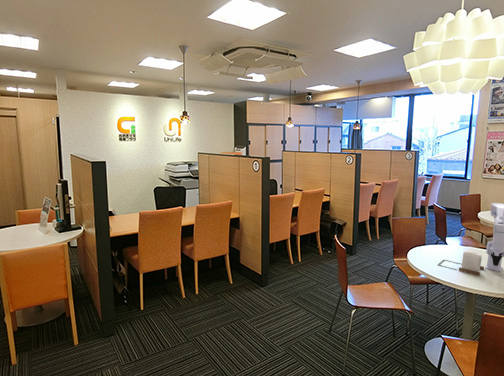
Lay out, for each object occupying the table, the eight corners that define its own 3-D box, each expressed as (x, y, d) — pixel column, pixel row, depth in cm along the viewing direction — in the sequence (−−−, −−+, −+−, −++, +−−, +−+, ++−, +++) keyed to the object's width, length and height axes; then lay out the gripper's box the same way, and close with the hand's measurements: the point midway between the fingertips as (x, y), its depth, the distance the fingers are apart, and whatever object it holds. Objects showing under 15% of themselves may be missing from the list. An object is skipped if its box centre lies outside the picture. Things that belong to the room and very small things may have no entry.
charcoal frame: (443, 259, 220) (443, 259, 220) (462, 264, 211) (462, 264, 211) (437, 265, 210) (437, 264, 210) (456, 270, 201) (456, 269, 201)
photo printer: (481, 272, 199) (483, 253, 197) (477, 273, 197) (480, 255, 195) (463, 266, 208) (465, 249, 206) (460, 267, 205) (462, 250, 204)
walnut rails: (464, 264, 211) (464, 262, 210) (483, 269, 203) (484, 266, 202) (458, 270, 201) (459, 267, 201) (479, 275, 193) (479, 272, 193)
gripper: (491, 238, 197) (488, 258, 199) (489, 244, 186) (486, 265, 188) (505, 241, 192) (502, 261, 194) (504, 246, 182) (501, 268, 184)
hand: (495, 263), depth 191 cm, fingers open, 7 cm apart
